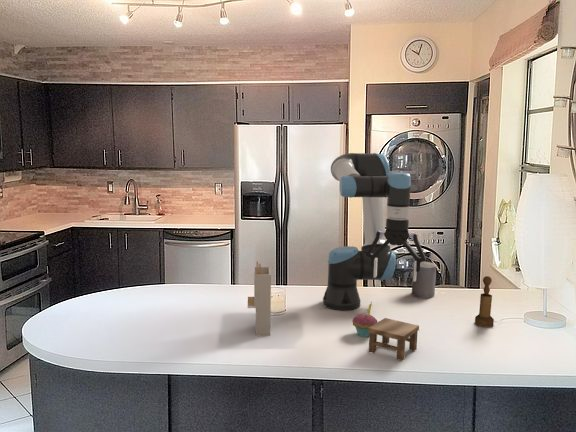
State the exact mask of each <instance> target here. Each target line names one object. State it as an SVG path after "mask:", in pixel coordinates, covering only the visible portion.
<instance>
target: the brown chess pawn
mask: <svg viewBox="0 0 576 432" xmlns="http://www.w3.org/2000/svg"><path fill="white" fill-rule="evenodd" d="M492 281H493V280H492V278H491V277H490V276H489V275H486V276H484V277H483V278H482V282H483V284H484V287H483V288H482V289H483V292H482V293H480V296H479V298H480V300H479V301H480V302H479V312H478V314H477V315H476V316H474V317H475V318H474V324H475V325H476V326H479V327H484V328H491V327H493V326H494V323H495V322H494V318H493V317H492V316H491V310H492V300H493V295H492V294H490V292H491V288H490V285H491V284H492Z"/></svg>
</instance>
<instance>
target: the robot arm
mask: <svg viewBox="0 0 576 432" xmlns="http://www.w3.org/2000/svg"><path fill="white" fill-rule="evenodd" d="M330 173H331V175H332V177H333V178H334V180H336V181H338V182H339V194H340V196H341V197H343V198H362V199H361V201H362V212H363V214H362V215H363V235H364V244H362V245H361V248H360V249H361V250H359V249H358V247H357V246H354V245H353V246H349V245H348V246H337V247H336V248H333V249H331V250H330V251H329V253H328V259H327V263H328V264H327V266H328V268H327V269H328V270H327V286H326V289H325V292H324V295H323V297H322V305H323V306H324V307H325V308H328V309H331V310H337V311H349V310H350V311H353V310H356V309H358V308H360V307H361V297H360V293H359V290H358V287H357V286H358V283H357V282H358V281H361V280H362V281H364V280H365V281H383V280H386V281H387V280H390V279H391V278H392V277H393V275H394V273H395V269H396V262H397V260H396V258H397V256H396V252H395V251H394V250H391V246H398V247H401V246H403V247H404V248H405V249H406V250H407V252H408V253H409V254H410V255H411V257H412V258H413V260H415V261H414V263H413V266H414V276H413V275H412V281H414V282H415V281H416V274H417V272H419V271H420V263H421V262H426V260H427V256H426V255H425V253H424V250H423V247H422V246H421V243H420V241H419V235H418V232H414V233H410V232H409V218H410V202H411V201H410V199H411V187H412V181H411V180H412V179H411V176H412V175H411V174H410V173H408V172H391V173H390V163H389V160H388V158H387V157H386V155H385V154H384V153H375V152H372V153H370V152H369V153H365V152H363V153H360V152H359V153H356V152H349V153H348V152H347V153H344V154H341V155H340V156H338V157H336V158H335V159H334V160H333V161H332V163H331V165H330ZM384 198H386V200H387V202H386V217H387V218H386V219H385V205H384ZM385 221H386V222H385ZM409 239H411V241H413V243H414V246H415V247H416V250H417V252H418V254H417V252H416V251H415V250H414V248H413V247H412V246H411V245H410V243H409V242H408V240H409Z"/></svg>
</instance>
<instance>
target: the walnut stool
mask: <svg viewBox="0 0 576 432" xmlns="http://www.w3.org/2000/svg"><path fill="white" fill-rule="evenodd" d="M418 331H420V325H418V324H415V323H414V324H413V323H409V322H404V321H400V320H396V319H391V318H388V317H384V318H382V319H380V320H378V321H377V323H376V324H374V325H372V326H371V327H369V328H368V332H369V337H368V353H370V354H371V353H372V354H374V353H376V352H377V347H380V348H383V349H388V350H391V351H395V352H396V360H397V361H403V360H405V354H406V353H405V352H406V342H407V343H408V342H409V345H408V350H409V351H413V352H416V350H417V349H418V347H417V346H418ZM378 336H381V337H382V338H381V342H380V341H377V340H378ZM390 339H393V340H397V341H396V345H392V344H389V343H390Z"/></svg>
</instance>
